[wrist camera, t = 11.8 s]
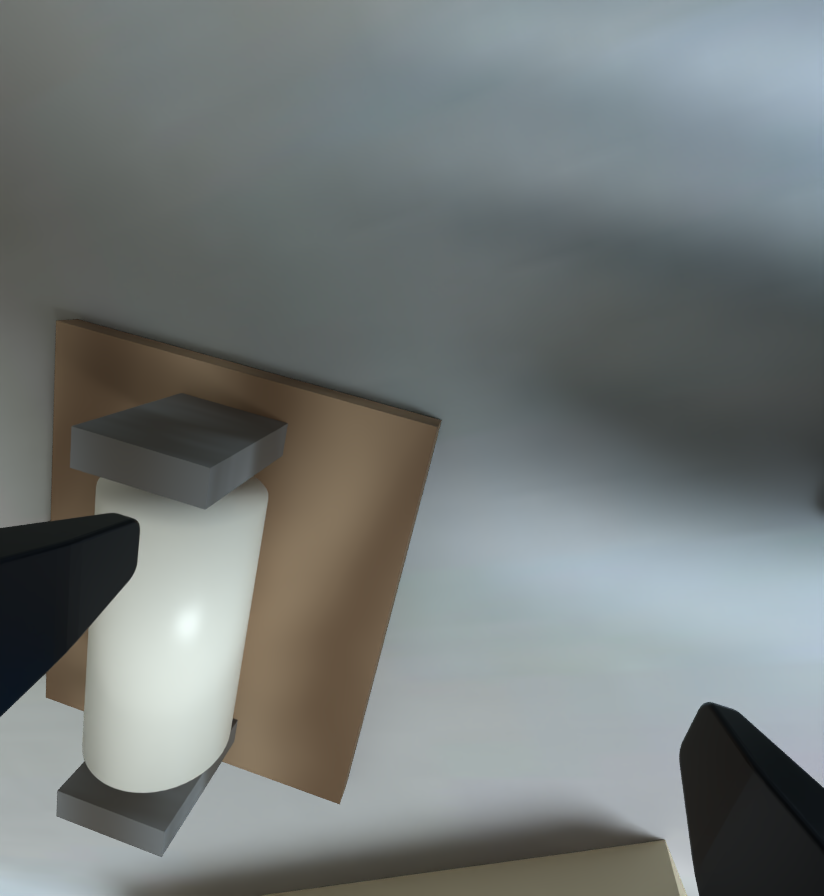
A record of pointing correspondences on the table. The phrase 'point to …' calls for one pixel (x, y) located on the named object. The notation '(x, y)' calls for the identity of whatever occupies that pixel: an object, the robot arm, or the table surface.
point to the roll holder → (281, 553)
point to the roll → (171, 638)
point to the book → (536, 877)
